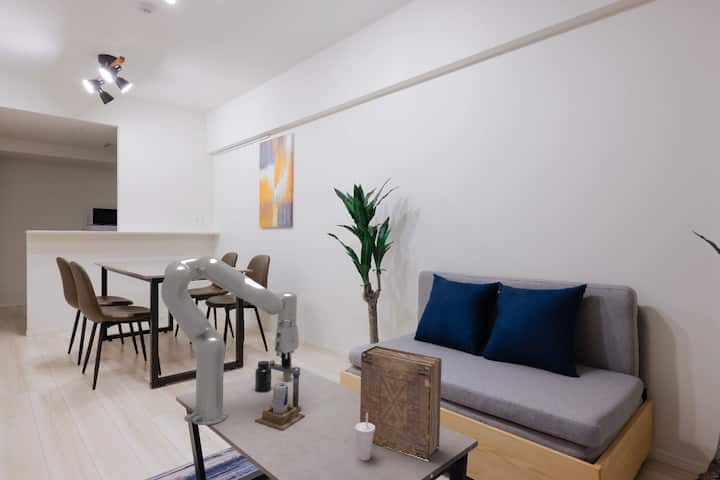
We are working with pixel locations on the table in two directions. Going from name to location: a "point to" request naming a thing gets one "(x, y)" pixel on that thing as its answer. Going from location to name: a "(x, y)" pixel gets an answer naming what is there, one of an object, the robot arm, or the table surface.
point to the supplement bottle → (263, 377)
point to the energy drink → (280, 398)
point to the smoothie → (364, 439)
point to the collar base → (288, 418)
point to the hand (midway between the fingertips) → (285, 367)
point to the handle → (287, 375)
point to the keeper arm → (284, 368)
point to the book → (402, 399)
